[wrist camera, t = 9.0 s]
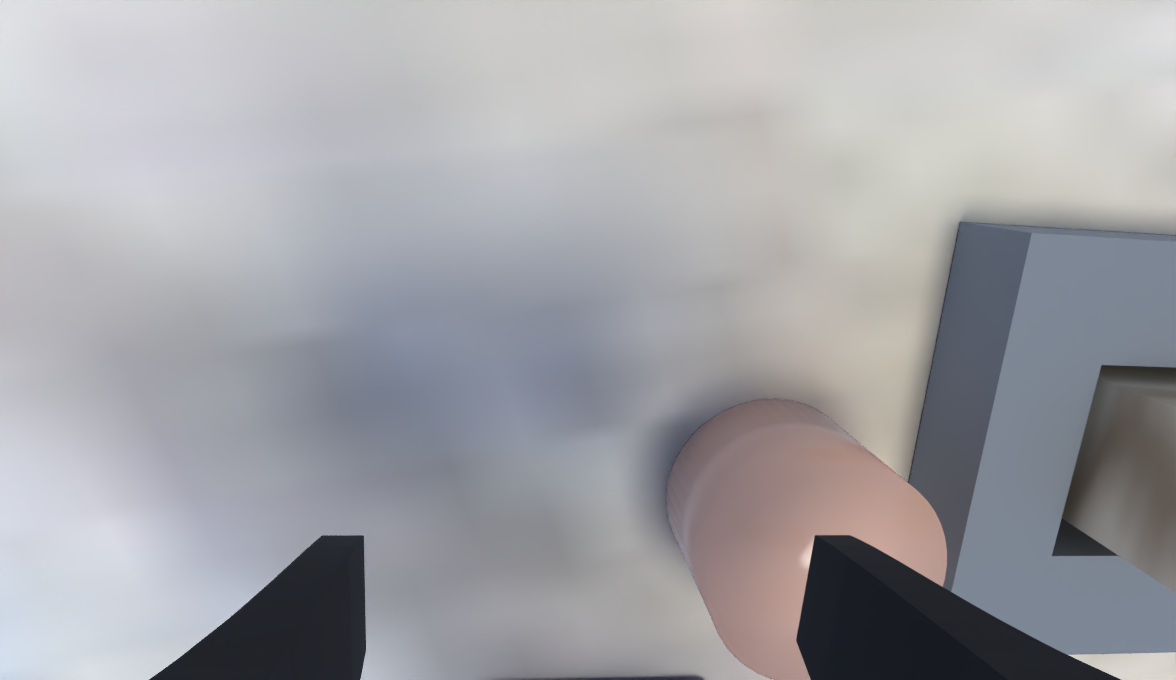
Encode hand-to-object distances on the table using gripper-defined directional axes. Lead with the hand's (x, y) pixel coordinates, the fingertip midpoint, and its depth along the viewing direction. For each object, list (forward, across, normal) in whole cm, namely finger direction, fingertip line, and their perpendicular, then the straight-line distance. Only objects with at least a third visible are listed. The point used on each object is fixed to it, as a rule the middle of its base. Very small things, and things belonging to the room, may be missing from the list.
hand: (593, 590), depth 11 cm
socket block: (+10, -18, +1) cm, 21 cm away
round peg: (+10, -7, +4) cm, 13 cm away
